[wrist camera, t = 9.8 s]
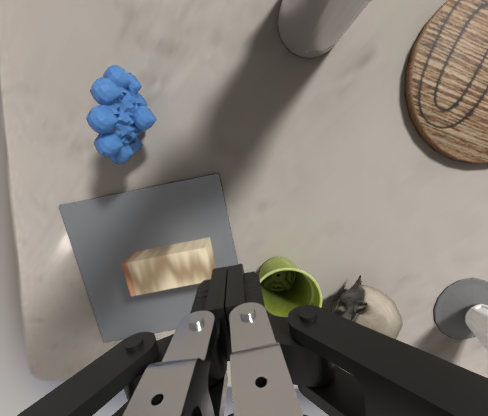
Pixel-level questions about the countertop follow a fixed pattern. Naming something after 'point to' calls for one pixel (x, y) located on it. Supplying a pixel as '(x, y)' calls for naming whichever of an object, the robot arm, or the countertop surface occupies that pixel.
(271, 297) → the plant pot
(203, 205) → the rubber mat
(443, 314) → the cup
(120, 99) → the grapes
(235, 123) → the countertop surface
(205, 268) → the maple block
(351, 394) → the robot arm
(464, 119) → the trivet
